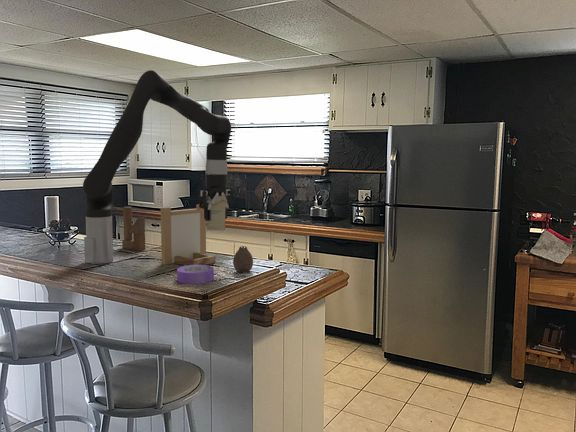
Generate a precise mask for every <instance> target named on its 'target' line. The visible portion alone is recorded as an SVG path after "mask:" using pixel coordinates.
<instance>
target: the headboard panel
mask: <svg viewBox="0 0 576 432" xmlns="http://www.w3.org/2000/svg"><path fill="white" fill-rule="evenodd" d="M195 205H196V207H195V208H188V209H187V208H185V209H178V210H172V207H171V206H165V207H160V231H161V232H160V236H161V237H160V238H161V240H160V242H161V245H160V246H161V251H160V252H161V265H165V266H166V265H171V264H176V263H175V262H174V256H181V257H186V258H191V259H193V253H201V254H207V221H206V220H205V219H204V209H202V208H199V203H198V204H195Z"/></svg>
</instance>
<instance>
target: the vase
mask: <svg viewBox="0 0 576 432" xmlns="http://www.w3.org/2000/svg"><path fill="white" fill-rule="evenodd" d="M232 264H233V267H234V270H235V271H236V273H239V272H247V273H250V271H251V270H253V269H252V268H253V265H254V257H253V255H252V253H251V252H250V250H249V248H248V247H247V246H243V245H242V246H241V245H240V246H239V248H238V250H237V251H236V252H235V253H234V256H233V258H232Z"/></svg>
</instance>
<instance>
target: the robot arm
mask: <svg viewBox="0 0 576 432" xmlns="http://www.w3.org/2000/svg"><path fill="white" fill-rule="evenodd" d="M150 100H151V101H154V102H156V103H159V104H162V105H165V106H166V107H169V108H172V109H173V110H174V111H176V112H178V114H180V115H181V116H182V117H184V118H186V119H187V120H188V121H190V122H192V123H194V124H195V125H196V127H198V128H199V129H200V130H201V131H202V132H203V133H205V134H207V135H209V136H213V138H212V141H211V142H209V143H207V145H206V162H205V187H206V190H199V191H198V204H199V208H202V209H204V219H205V220H206V222H207V221H210V220H211V210H210V208H211V206H212V205H213V204H214V202H215V200H216V198H217V197H218V196H226V209H225V220H227V219H228V216H229V215H228V214H229V208H230V207H233V194H234V193H233V189H226V188H227V187H228V161H227V160H228V159H227V155H228V153H227V152H228V150H227V149H228V148H227V147H228V145H229V141H230V138H231V133H232V124H231V121H230V119H229V118H228V117H226V115H225V116H224V115H218V114H214V113H212V112H210V109H209V108H208V107H206V106H205V105H204V104H202V103H200V102H199V101H197V100H195V99H193V98H191V97H189V96H187V95H184V94H183V93H180V91H178V90H177V89H176V88H174V86H173V85H171V84H170V82H169V81H168V80H167V79H166V78H164V76H162V75H161V74H160V73H158V71H156V70H152V69H150V70H147V71H145V72H144V73H143V74H141V76H140V77H139V79H138V80H137V83H136V85H135V87H134V89H133V92H132V94H131V96H130V99H129V101H128V103H127V105H126V107H125V109H124V110H123V112H122V114H121V116H120V118H119V120H118V121H117V123H116V124H115V126H114V128H113V130H112V132H111V133H110V134H109V135H110V136H109V137H108V140H107V141H106V143H105V146H104V148H103V150H102V152H101V155H100V157H99V158H98V160H97V162H96V163H95V164H94V166H93V167H92V169H91V170H90V172H89V173H88V174H87V175H86V177H85V178H84V180H83V182H82V183H83V184H82V188H83V192H84V194H85V195H86V206H85V209H84V210H85V236H84V237H83V242H84V245H83V247H84V248H83V249H84V262H85V263H86V264H90V265H97V264H100V265H101V264H102V265H103V264H108V263H112V262H114V236H113V235H114V234H113V230H114V229H113V206H114V202H113V200H114V199H113V195H114V194H113V193H114V192H113V183H112V181H113V179H114V177H115V175H116V173H117V171H118V169H119V168H120V167H121V165H122V164H123V163H124V162H125V160H126V159H127V158H128V156H129V155H130V154H131V153H132V151H133V150H134V148H135V147H136V145H137V143H138V142H139V140H140V138H141V135H142V132H143V125H144V113H145V109H146V107H147V105H148V103H149V102H150ZM209 196H210V198H211V199H212V200H211V201H208V197H209ZM208 203H209V204H208Z"/></svg>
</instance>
